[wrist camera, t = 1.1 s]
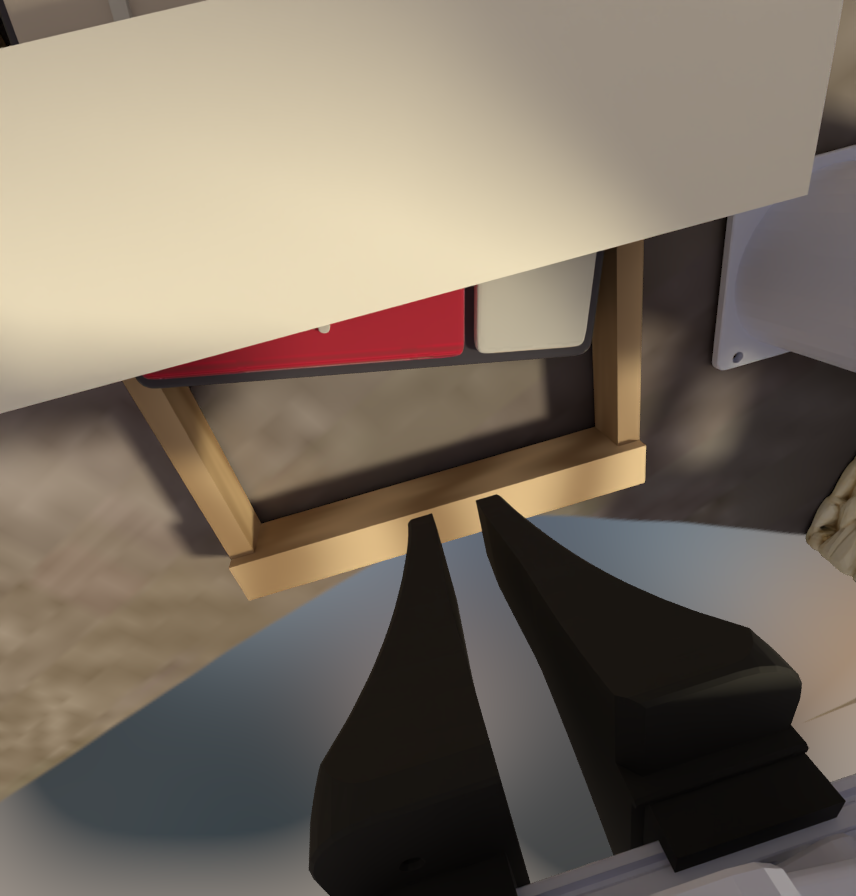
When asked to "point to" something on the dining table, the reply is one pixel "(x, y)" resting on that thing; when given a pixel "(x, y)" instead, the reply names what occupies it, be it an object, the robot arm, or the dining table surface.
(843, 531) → the storage basket
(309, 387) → the dining table surface
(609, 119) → the tunnel
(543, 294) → the calculator
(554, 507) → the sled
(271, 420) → the dining table surface
